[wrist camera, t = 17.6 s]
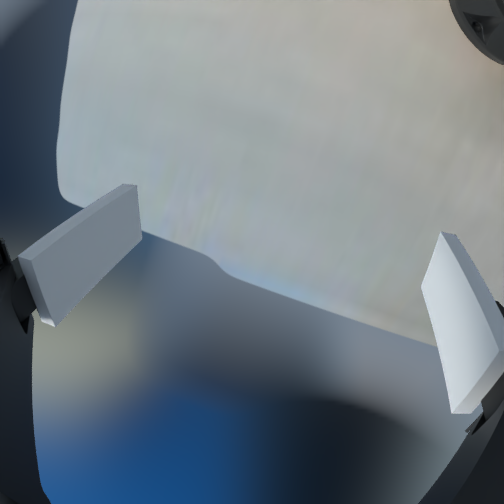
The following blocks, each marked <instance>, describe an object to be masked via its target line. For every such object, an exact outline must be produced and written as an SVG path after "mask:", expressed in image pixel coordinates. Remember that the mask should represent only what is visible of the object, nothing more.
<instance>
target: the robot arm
mask: <svg viewBox="0 0 504 504" xmlns="http://www.w3.org/2000/svg"><path fill="white" fill-rule="evenodd" d="M449 2H450V6H451V9H452V12H453V14H454V16H455V19H456V21H457V22H458V24H459V26H460V28H461V29H462V31H463V32H464V34H465V35H466V36H467V38H468V39H469V40H470V41H471V42H472V43H473V44H474V46H475V47H476V48H477V49H479V50H480V51H481V52H482V53H483V54H484V55H486V56H487V57H489V58H490V59H492V60H493V61H495V62H497V63H499V64H502V65H504V0H449ZM141 240H142V233H141V223H140V214H139V204H138V193H137V185H129V184H122V185H121V186H119V187H117V188H116V189H114V190H113V191H111V192H109V193H108V194H106V195H104V196H103V197H101V198H100V199H98V200H97V201H95V202H93V203H92V204H90V205H89V206H87V207H86V208H84V209H83V210H81V211H80V212H78V213H77V214H75V215H74V216H72V217H71V218H69V219H68V220H66V221H65V222H64V223H62V224H61V225H59V226H58V227H56V228H55V229H53V230H52V231H51V232H49V233H48V234H47V235H45V236H44V237H42V238H41V239H40V240H38V241H37V242H36V243H34V244H33V245H32V246H30V247H29V248H28V249H26V250H25V251H24V252H22V253H21V254H20V255H18V257H17V258H16V259H15V260H13V261H11V259H10V255H9V252H8V249H7V246H6V243H5V240H4V239H3V238H0V504H51V503H50V501H49V499H48V498H47V496H46V494H45V493H44V491H43V489H42V486H41V483H40V477H39V470H38V463H37V456H36V447H35V437H34V425H33V409H32V348H33V330H34V319H33V316H32V314H31V313H32V312H33V311H34V310H35V309H36V308H37V311H38V313H39V316H40V318H41V320H42V321H43V322H45V323H47V324H49V325H52V326H54V327H56V326H57V325H58V324H59V323H60V322H61V321H62V319H64V317H65V316H66V315H67V314H68V313H69V312H70V311H71V310H72V309H73V308H74V307H75V306H76V305H77V304H78V302H79V301H80V300H81V299H82V298H83V297H84V296H85V295H86V294H87V293H88V292H89V291H90V290H91V289H92V288H93V287H94V286H95V285H96V284H97V283H98V282H99V281H100V280H101V279H102V278H103V277H104V276H105V275H106V274H107V273H108V272H109V271H110V270H111V269H112V268H113V267H114V266H115V265H116V264H117V263H118V262H119V261H120V260H121V259H122V258H123V257H124V256H125V255H126V254H127V253H128V252H129V251H130V250H131V249H132V248H133V247H134V246H135V245H136V244H137V243H138V242H140V241H141ZM421 289H422V292H423V295H424V299H425V302H426V305H427V309H428V312H429V315H430V319H431V323H432V326H433V330H434V334H435V338H436V341H437V345H438V349H439V354H440V358H441V362H442V366H443V371H444V376H445V381H446V385H447V390H448V396H449V401H450V406H451V413H452V414H453V413H454V414H462V413H463V414H464V413H466V414H468V413H469V414H470V413H472V412H473V410H474V409H475V408H476V407H477V406H478V405H479V404H480V402H481V403H482V407H483V412H482V414H481V415H480V416H479V417H478V418H477V419H476V420H475V421H474V422H473V423H472V424H471V425H470V426H469V427H468V428H467V429H466V432H469V431H470V432H469V433H468V435H467V436H466V438H465V440H464V441H463V443H462V444H461V446H460V448H459V449H458V451H457V452H456V454H455V455H454V457H453V458H452V460H451V461H450V463H449V464H448V465H447V467H446V468H445V470H444V471H443V472H442V474H441V475H440V476H439V478H438V479H437V481H436V482H435V483H434V484H433V486H432V487H431V488H430V490H429V491H428V492H427V493H426V495H425V496H424V497H423V498H422V499H421V501H420V502H419V503H418V504H504V307H503V306H502V305H501V304H500V303H499V302H498V301H495V300H494V298H493V296H492V295H491V293H490V291H489V289H488V287H487V285H486V284H485V282H484V280H483V278H482V277H481V275H480V273H479V271H478V270H477V268H476V266H475V265H474V263H473V261H472V260H471V258H470V256H469V255H468V253H467V251H466V250H465V248H464V247H463V245H462V244H461V242H460V240H459V239H458V237H457V236H456V235H454V234H449V233H445V232H440V235H439V238H438V241H437V244H436V247H435V250H434V253H433V256H432V258H431V261H430V264H429V267H428V269H427V272H426V275H425V277H424V280H423V283H422V285H421Z"/></svg>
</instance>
